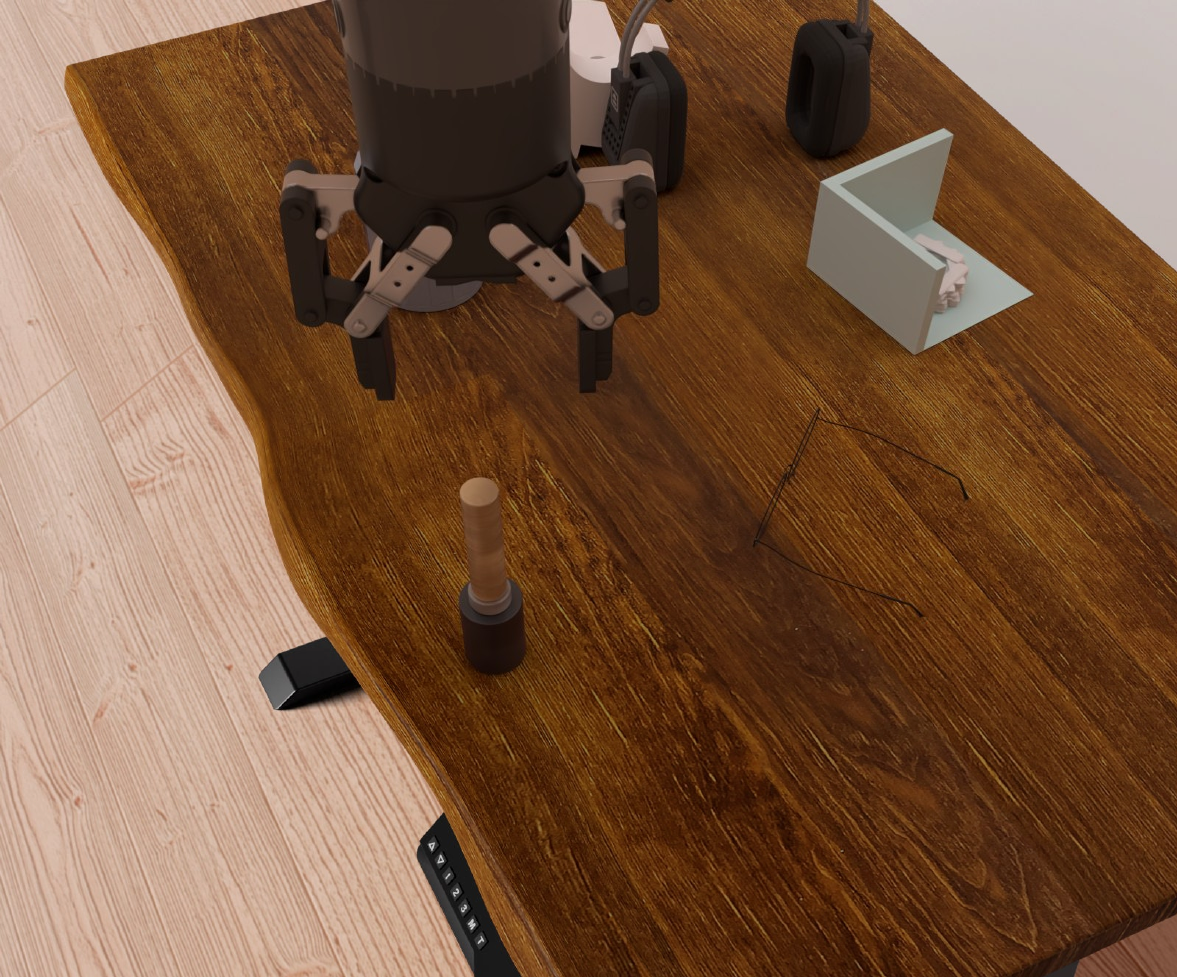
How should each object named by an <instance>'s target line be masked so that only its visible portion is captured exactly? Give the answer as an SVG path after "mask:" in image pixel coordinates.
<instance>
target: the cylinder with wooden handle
mask: <svg viewBox="0 0 1177 977" xmlns="http://www.w3.org/2000/svg"><path fill="white" fill-rule="evenodd" d="M459 502H460V509H461V517H462V518H461V519H462V525H463V532H464V542H465V549H466V558H467V565H468V574H469V581H468V582H466V583H465V585H464V586H463V587H462V588H461V589H460V592H459V595H458V610H459V616H460V624H461V631H462V637H463V638H462V639H463V646H464V652H465V657H466V660H467V661H468V663H469V664H470V666H471V667H472V668H474V669H475V670H476V671H478V672H480V673H483V674H485V675H486V674H487V675H496V676H498V675H503V674H507V673H509V672H511V671H513V670H515V669H516V668H517V667H519V665H521V663H522V662H523V661H524V659H525V657H526V654H527V641H526V640H527V639H526V628H525V627H526V626H525V624H526V623H525V611H524V598H523V592H522V589H521V587H520V586H519V585H518V584H517V582H516V581H515V580H513V579H512V578H510V577H508V576H507V568H506V567H507V566H506V555H505V554H506V553H505V544H504V532H503V521H502V508H501V497H500V489H499V486H498V484H497V483H496V482H495V481H494V480H492V479H490V478H488V477H481V476H480V477H479V476H478V477H473V478H470V479H468V480H466V481H465V482H464V483H463V484H462V485H461V487H460V489H459Z"/></svg>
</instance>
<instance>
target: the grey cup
mask: <svg viewBox="0 0 1177 977" xmlns="http://www.w3.org/2000/svg"><path fill="white" fill-rule="evenodd" d="M360 166H361V157H360V151H359V150H357V153H356V155H355V160H354V162H353V171H354V175H356V174H357V172H358V170H359V168H360ZM362 224H363V231H364V236H365V242H366V248H367V253H368V254H367V255H369V253H370V252H371V249H372V246H373V244H374V241H375V239H376V238H377V235H376V234H375V233H374V232H373V231H372V230H371V229H370V228H369V227H368V226H367V225H365V224H364V223H363V222H362ZM483 284H484V282H482V281H472V282H468V283H464V284H460V285H455V286H436V280H433V279H429V278H426V277H423V278H422V279H421V280H420V282H419V283H418V284H417V285H416V287H415V288H414V289H413V290H412V292H411V293H410V294H409V296H408V297H407V298H406V299H405V301H404V302H403V303H402V304H401V306H400V307H398V308H399V309H402V310H406V311H409V312H419V313H433V312H439V311H440V312H441V311H445V310H449V309H452V308H455V307H458V306H460V305H462V304H464V303H465V302H467V301H469V300H470V299H471V298H472V297H474V296H475V295H476V294H477V293H478V292H479V290H480V289H481V288H482V285H483Z"/></svg>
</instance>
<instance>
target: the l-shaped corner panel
mask: <svg viewBox="0 0 1177 977" xmlns="http://www.w3.org/2000/svg"><path fill="white" fill-rule="evenodd" d="M953 139H954V134H953V133H952V132H951V131H950V130H948V129H946V128H944V127H943V128H941V129H938V130H936V131H934V132H932V133H930V134H926V135H925V136H922V137H920V138H917V139H916V140H913V141H911V142H909V143H906V144H904V145H902V146H900V147H897V148H895V149H892V150H890V151H888V152H886V153H883V154H881V155H878V156H876V157H874V158H871V159H869V160H867V161H865V162H863V163H860V164H857V165H856V166H853V167H851V168H849V169H846V170H844V171H842V172H840V173H839V172H838V173H837V174H835V175H832V176H830V177H828V178H826V179H823V180H821V181H819V188H818V194H817V200H816V206H815V212H814V213H815V214H814V219H813V224H812V231H811V236H810V244H809V249H808V253H807V254H808V255H807V260H806V268H808V269H809V270H810V271H811V272H812V273H814V274H815V275H816V276H817V277H818V278H820V279H821V280H822V282H823V281H824V283H825V284H827V285H828V286H830V287H831V288H832V289H833V290H834V291H835V292H837V293H838V294H839V295H840V296H842V297H843V298H844V299H845V300H846V301H847V302H849V303H850V304H851V305H852V306H854V307H855V308H856V309H857V310H858V311H860V312H861V313H863V314H864V316H866V317H867V318H868V319H869V320H871V321H872V322H873V323H874V324H876V325H877V326H878V327H879V328H881V329H882V330H883V331H884V332H885V333H887V334H888V335H889V336H890V337H892V338H893V340H895V341H896V342H897V343H899V344H900V345H901V346H902V347H903V348H905V349H906V350H907V351H909V352H910V353H911V354H912V355H913V356H916V355H918V354H920V353H921V352H924V351H925V350H927V349H930V348H932V347H933V346H935V345H937V344H940V343H942V342H943V341H945V340H947V339H949V338H951V337H953V336H955V335H956V334H959V333H961V332H963V331H964V330H967V329H968V328H970V327H973V326H975V325H977V324H978V323H980V322H983V321H984V320H986V319H988V318H991V317H992V316H994V315H997V314H998V313H1000V312H1002V311H1004V310H1006V309H1008V308H1010V307H1011V306H1013V305H1016V304H1017V303H1020V302H1022V301H1023V300H1025V299H1028V298H1030V297H1031V296H1033V295H1034V293H1033V292H1032V291H1030V290H1029V289H1028V288H1026V287H1025V286H1023V285H1022V284H1021V283H1019V282H1018V281H1017V280H1015V279H1014V278H1013V277H1011V276H1010V275H1008V274H1007V273H1006V272H1004V270H1002V269H1000V268H999V267H997V266H996V265H995V264H994V263H992V262H991V261H989V260H988V259H987V258H985V257H984V256H983V255H981V254H980V253H978V252H977V251H976V250H974V249H973V248H972V247H970V246H969V245H968V244H966V243H965V242H963V241H962V240H961V239H959V238H958V237H957V236H955V235H954V234H952V232H950V231H949V230H947V229H946V228H945V227H943V226H942V225H940V224H939V223H938V222H936V221H935V220H934V219H933V217H934V214H935V210H936V207H937V203H938V199H939V194H940V190H941V187H942V182H943V178H944V175H945V170H946V166H947V163H948V159H949V155H950V151H951V146H952V142H953Z"/></svg>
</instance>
